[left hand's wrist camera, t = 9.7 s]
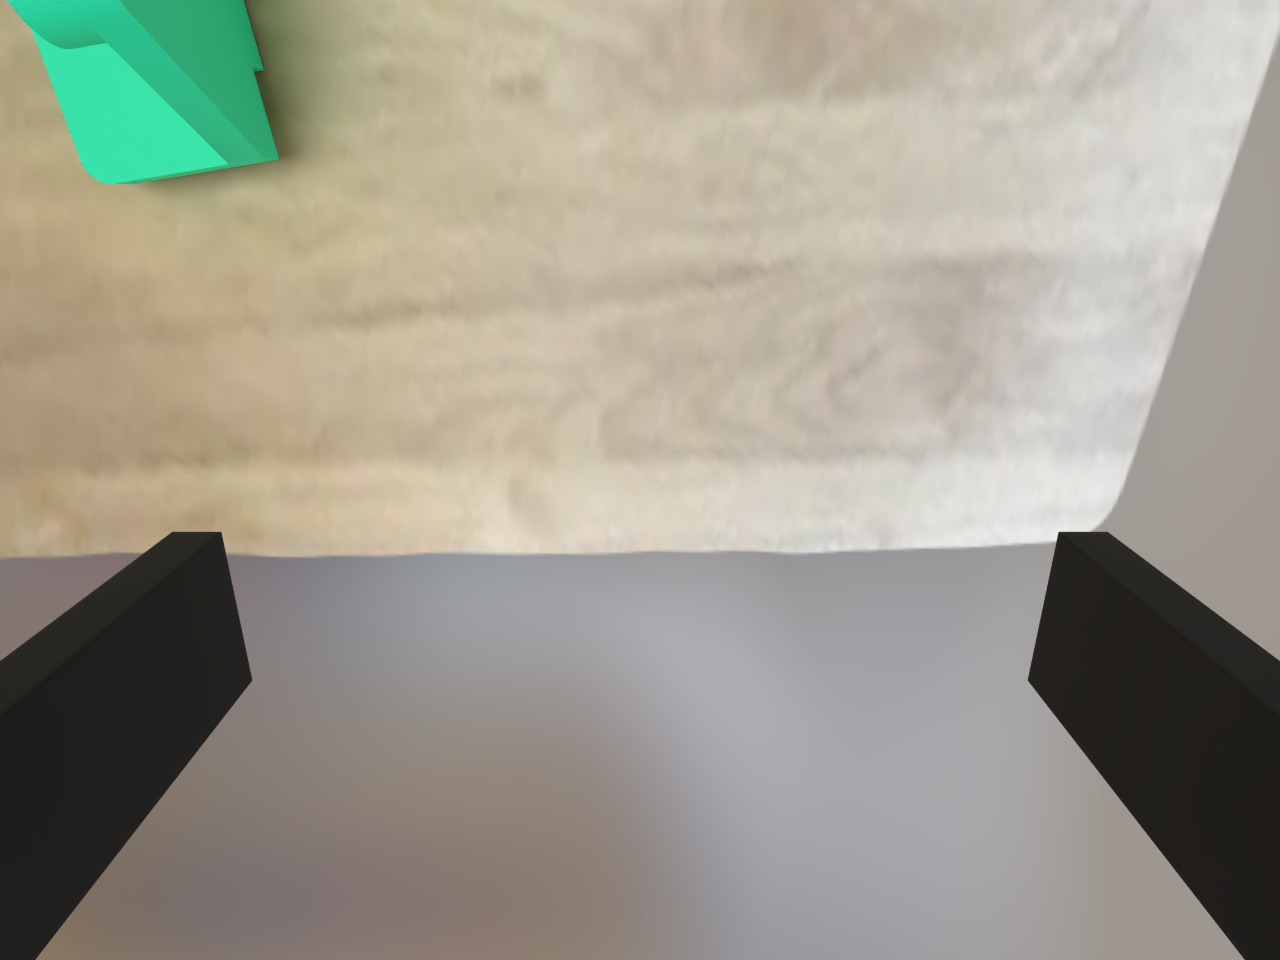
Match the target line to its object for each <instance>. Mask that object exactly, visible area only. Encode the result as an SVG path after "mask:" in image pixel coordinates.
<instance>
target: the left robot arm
mask: <svg viewBox="0 0 1280 960" xmlns="http://www.w3.org/2000/svg"><path fill="white" fill-rule="evenodd" d="M251 681H252V677H251V672H250V667H249V662H248V658H247V653H246V648H245V643H244V638H243V634H242V629H241V624H240V619H239V615H238V610H237V605H236V600H235V595H234V590H233V586H232V581H231V576H230V571H229V566H228V562H227V557H226V552H225V547H224V542H223V538H222V533H221V532H172V533H170V534H169V535H168V536H166V537H165V538H164V539H162V540H161V541H160V542H158V543H157V544H156V545H154V546H153V547H152V548H150V549H149V550H148V551H146V552H145V553H144V554H142V555H141V556H140V557H138V558H137V559H136V560H134V561H133V562H132V563H130V564H129V565H128V566H126V567H125V568H124V569H122V570H121V571H120V572H118V573H117V574H116V575H114V576H113V577H112V578H110V579H109V580H108V581H106V582H105V583H104V584H102V585H101V586H100V587H98V588H97V589H96V590H94V591H93V592H92V593H90V594H89V595H88V596H86V597H85V598H84V599H82V600H81V601H80V602H78V603H77V604H76V605H74V606H73V607H72V608H70V609H69V610H68V611H66V612H65V613H64V614H62V615H61V616H60V617H58V618H57V619H56V620H54V621H53V622H52V623H50V624H49V625H48V626H46V627H45V628H44V629H42V630H41V631H40V632H38V633H37V634H36V635H34V636H33V637H32V638H30V639H29V640H28V641H26V642H25V643H24V644H22V645H21V646H20V647H18V648H17V649H16V650H14V651H13V652H12V653H10V654H9V655H8V656H6V657H5V658H4V659H2V660H1V661H0V960H35V959H36V958H37V957H38V955H39V954H40V953H41V952H42V950H43V949H44V948H45V946H46V945H47V944H48V943H49V941H50V940H51V939H52V937H53V936H54V935H55V934H56V932H57V931H58V930H59V928H60V927H61V926H62V925H63V923H64V922H65V921H66V919H67V918H68V917H69V915H70V914H71V913H72V912H73V910H74V909H75V908H76V907H77V905H78V904H79V903H80V901H81V900H82V899H83V898H84V896H85V895H86V894H87V892H88V891H89V890H90V889H91V887H92V886H93V885H94V883H95V882H96V881H97V879H98V878H99V877H100V876H101V874H102V873H103V872H104V870H105V869H106V868H107V867H108V865H109V864H110V863H111V861H112V860H113V859H114V858H115V856H116V855H117V854H118V852H119V851H120V850H121V849H122V847H123V846H124V845H125V843H126V842H127V841H128V840H129V838H130V837H131V836H132V834H133V833H134V832H135V831H136V829H137V828H138V827H139V825H140V824H141V823H142V822H143V820H144V819H145V818H146V816H147V815H148V814H149V812H150V811H151V810H152V809H153V807H154V806H155V805H156V804H157V802H158V801H159V800H160V798H161V797H162V796H163V795H164V793H165V792H166V791H167V789H168V788H169V787H170V785H171V784H172V783H173V782H174V780H175V779H176V778H177V777H178V775H179V774H180V773H181V771H182V770H183V769H184V768H185V766H186V765H187V764H188V762H189V761H190V760H191V759H192V757H193V756H194V755H195V753H196V752H197V751H198V750H199V748H200V747H201V746H202V744H203V743H204V742H205V741H206V739H207V738H208V737H209V735H210V734H211V733H212V731H213V730H214V729H215V728H216V726H217V725H218V724H219V722H220V721H221V720H222V719H223V717H224V716H225V715H226V713H227V712H228V711H229V710H230V708H231V707H232V706H233V704H234V703H235V702H236V701H237V699H238V698H239V697H240V695H241V694H242V693H243V692H244V690H245V689H246V688H247V686H248V685H249V684H250V683H251ZM1028 681H1029V683H1030V684H1031V685H1032V686H1033V688H1034V689H1035V690H1036V692H1037V693H1038V694H1039V695H1040V697H1041V698H1042V699H1043V701H1044V702H1045V703H1046V704H1047V706H1048V707H1049V708H1050V710H1051V711H1052V712H1053V713H1054V715H1055V716H1056V717H1057V719H1058V720H1059V721H1060V722H1061V724H1062V725H1063V726H1064V728H1065V729H1066V730H1067V731H1068V733H1069V734H1070V735H1071V737H1072V738H1073V739H1074V741H1075V742H1076V743H1077V744H1078V746H1079V747H1080V748H1081V749H1082V751H1083V752H1084V753H1085V755H1086V756H1087V757H1088V759H1089V760H1090V761H1091V762H1092V764H1093V765H1094V766H1095V768H1096V769H1097V770H1098V771H1099V773H1100V774H1101V775H1102V777H1103V778H1104V779H1105V780H1106V782H1107V783H1108V784H1109V786H1110V787H1111V788H1112V789H1113V791H1114V792H1115V793H1116V794H1117V796H1118V797H1119V798H1120V800H1121V801H1122V802H1123V804H1124V805H1125V806H1126V807H1127V809H1128V810H1129V811H1130V813H1131V814H1132V815H1133V816H1134V818H1135V819H1136V820H1137V822H1138V823H1139V824H1140V825H1141V827H1142V828H1143V829H1144V831H1145V832H1146V833H1147V834H1148V836H1149V837H1150V838H1151V840H1152V841H1153V842H1154V843H1155V845H1156V846H1157V847H1158V849H1159V850H1160V851H1161V852H1162V854H1163V855H1164V856H1165V858H1166V859H1167V860H1168V861H1169V863H1170V864H1171V865H1172V867H1173V868H1174V869H1175V871H1176V872H1177V873H1178V874H1179V876H1180V877H1181V878H1182V879H1183V881H1184V882H1185V883H1186V885H1187V886H1188V887H1189V889H1190V890H1191V891H1192V892H1193V894H1194V895H1195V896H1196V898H1197V899H1198V900H1199V901H1200V903H1201V904H1202V905H1203V907H1204V908H1205V909H1206V910H1207V912H1208V913H1209V914H1210V916H1211V917H1212V918H1213V919H1214V921H1215V922H1216V923H1217V925H1218V926H1219V927H1220V928H1221V930H1222V931H1223V932H1224V934H1225V935H1226V936H1227V937H1228V939H1229V940H1230V941H1231V943H1232V944H1233V945H1234V946H1235V948H1236V949H1237V950H1238V952H1239V953H1240V954H1241V955H1242V957H1243V958H1244V959H1245V960H1280V661H1279V660H1278V659H1276V658H1275V657H1274V656H1272V655H1271V654H1270V653H1268V652H1267V651H1266V650H1264V649H1263V648H1262V647H1260V646H1259V645H1258V644H1256V643H1255V642H1254V641H1252V640H1251V639H1250V638H1248V637H1247V636H1246V635H1244V634H1243V633H1242V632H1240V631H1239V630H1238V629H1236V628H1235V627H1234V626H1232V625H1231V624H1230V623H1228V622H1227V621H1226V620H1224V619H1223V618H1222V617H1220V616H1219V615H1218V614H1216V613H1215V612H1214V611H1212V610H1211V609H1210V608H1208V607H1207V606H1206V605H1204V604H1203V603H1202V602H1200V601H1199V600H1198V599H1196V598H1195V597H1194V596H1192V595H1191V594H1190V593H1188V592H1187V591H1186V590H1184V589H1183V588H1182V587H1180V586H1179V585H1178V584H1176V583H1175V582H1174V581H1172V580H1171V579H1170V578H1168V577H1167V576H1166V575H1164V574H1163V573H1162V572H1160V571H1159V570H1158V569H1156V568H1155V567H1154V566H1152V565H1151V564H1150V563H1148V562H1147V561H1146V560H1144V559H1143V558H1142V557H1140V556H1139V555H1138V554H1136V553H1135V552H1134V551H1132V550H1131V549H1130V548H1128V547H1127V546H1126V545H1124V544H1123V543H1122V542H1120V541H1119V540H1118V539H1116V538H1115V537H1114V536H1112V535H1111V534H1110V533H1108V532H1059V533H1058V538H1057V542H1056V547H1055V552H1054V557H1053V562H1052V567H1051V571H1050V576H1049V581H1048V586H1047V590H1046V595H1045V600H1044V605H1043V610H1042V614H1041V619H1040V624H1039V629H1038V634H1037V638H1036V643H1035V648H1034V653H1033V658H1032V663H1031V667H1030V672H1029V677H1028Z"/></svg>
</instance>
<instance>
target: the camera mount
mask: <svg viewBox="0 0 1280 960" xmlns="http://www.w3.org/2000/svg"><path fill="white" fill-rule="evenodd" d="M8 1H9V3H10V4H11V6H12V7H13V8H14V10H15V11H16V12H17V13H18V15H19V16H20V17H21V18H22V19H23V20H24V21H25V23H26V24H27V25H28V26H29V27H30V28H31V29H32V32H33V34H34V37H35V40H36V42H37V45H38V48H39V50H40V53H41V56H42V58H43V61H44V64H45V66H46V69H47V72H48V75H49V77H50V80H51V83H52V85H53V88H54V91H55V93H56V96H57V99H58V101H59V104H60V107H61V109H62V112H63V115H64V117H65V120H66V123H67V126H68V128H69V131H70V134H71V136H72V139H73V142H74V144H75V147H76V150H77V152H78V155H79V158H80V160H81V163H82V165H83V167H84V168H85V169H86V171H87V172H88V173H89V174H90V175H91V176H92V177H93V178H95V179H96V180H98V181H100V182H103V183H107V184H138V183H144V182H150V181H156V180H162V179H168V178H174V177H179V176H185V175H191V174H197V173H203V172H209V171H215V170H221V169H227V168H233V167H238V166H244V165H250V164H256V163H262V162H268V161H274V160H279V157H278V154H277V150H276V147H275V143H274V140H273V136H272V133H271V130H270V126H269V123H268V119H267V116H266V112H265V109H264V105H263V102H262V99H261V95H260V92H259V88H258V85H257V81H256V78H255V74H254V72H256V71H262V70H264V69H263V66H262V62H261V59H260V55H259V52H258V48H257V45H256V41H255V38H254V34H253V31H252V27H251V24H250V20H249V17H248V13H247V10H246V6H245V3H244V0H8Z"/></svg>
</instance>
